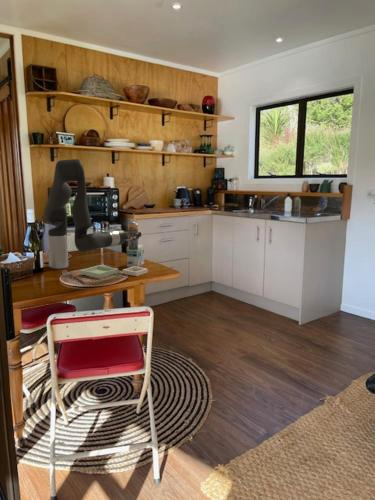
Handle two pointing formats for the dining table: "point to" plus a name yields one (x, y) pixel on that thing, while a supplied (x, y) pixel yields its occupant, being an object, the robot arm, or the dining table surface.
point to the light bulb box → (135, 257)
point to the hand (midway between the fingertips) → (136, 233)
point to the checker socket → (133, 272)
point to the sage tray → (99, 271)
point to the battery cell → (132, 243)
